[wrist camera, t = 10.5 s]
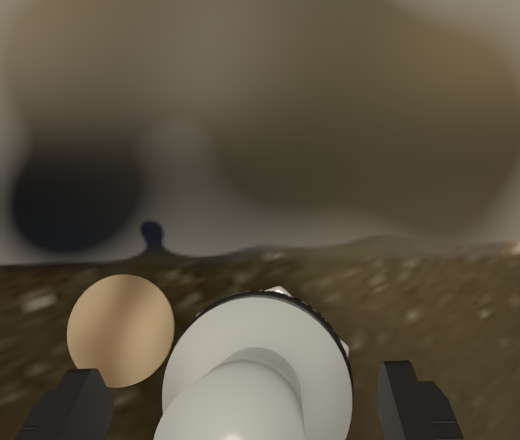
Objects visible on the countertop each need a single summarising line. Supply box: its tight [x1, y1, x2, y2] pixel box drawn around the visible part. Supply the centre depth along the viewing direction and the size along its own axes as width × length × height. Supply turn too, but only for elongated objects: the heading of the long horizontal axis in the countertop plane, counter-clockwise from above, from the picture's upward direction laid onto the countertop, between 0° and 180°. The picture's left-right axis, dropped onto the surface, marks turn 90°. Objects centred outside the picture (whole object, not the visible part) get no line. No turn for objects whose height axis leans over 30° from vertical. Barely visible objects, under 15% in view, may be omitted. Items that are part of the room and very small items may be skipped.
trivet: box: [67, 275, 175, 388], centre depth 30 cm, size 8×8×1 cm
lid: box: [154, 297, 352, 440], centre depth 13 cm, size 8×8×8 cm
